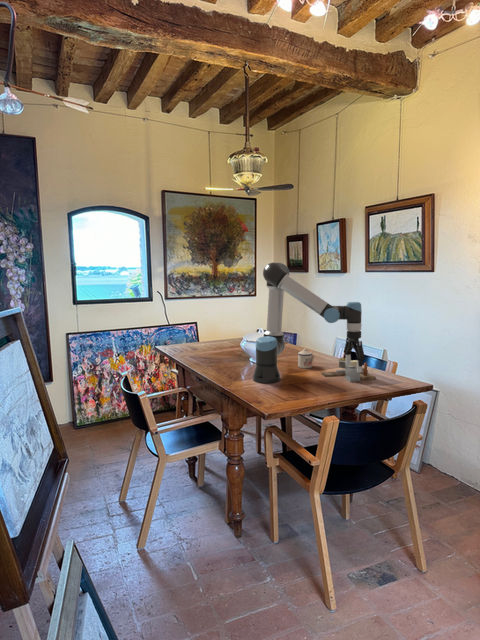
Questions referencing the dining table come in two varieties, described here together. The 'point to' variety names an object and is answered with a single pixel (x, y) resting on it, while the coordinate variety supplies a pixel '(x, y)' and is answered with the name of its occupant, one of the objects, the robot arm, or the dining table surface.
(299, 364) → the teacup with lid
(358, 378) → the grey hollow square block
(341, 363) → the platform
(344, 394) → the dining table surface
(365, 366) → the square plate with peg
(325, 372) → the rail
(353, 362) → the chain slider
